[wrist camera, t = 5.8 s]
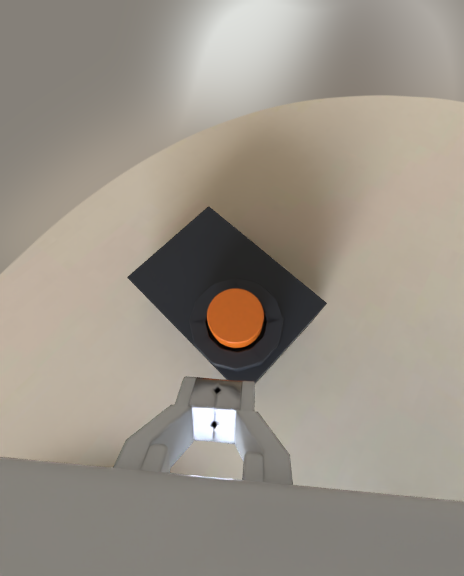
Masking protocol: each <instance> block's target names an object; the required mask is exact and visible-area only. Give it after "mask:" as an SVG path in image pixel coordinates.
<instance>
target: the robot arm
mask: <svg viewBox="0 0 464 576" xmlns="http://www.w3.org/2000/svg"><path fill="white" fill-rule="evenodd" d="M254 403H255V382H254V381H243V384H242V381H234V380H219V379H209V378H198V377H197V378H196V377H186V376H185V377H184V379H183V381H182V384H181V387H180V390H179V393H178V396H177V399H176V402H175V405H170V406H169V407H168V408H166V409H165V410H164V411H162V412H161V413H160V414H159V415H157V416H156V417H155V418H153V419H152V420H151V421H150V422H148V423H147V424H146V425H144V426H143V427H142V428H141V429H139V430H138V431H137V432H136V433H134V434H133V435H132V436H130V437H129V438H128V439H127V440H126V441H125V443H124V445H123V447H122V450H121V452H120V454H119V456H118V458H117V460H116V462H115V465H114V467H113V468H111V467H101V466H91V465H80V464H70V463H59V462H49V461H39V460H28V459H18V458H7V457H0V576H464V501H454V500H444V499H433V498H423V497H413V496H402V495H392V494H381V493H371V492H361V491H350V490H340V489H329V488H319V487H309V486H298V485H293V482H292V471H291V461H290V454H289V453H288V452H287V450H286V449H285V448H284V446H283V445H282V444H281V442H280V441H279V440H278V438H277V437H276V436H275V434H274V433H273V432H272V430H271V429H270V427H269V426H268V425H267V423H266V422H265V421H264V419H263V418H262V417H261V415H260V414H259V413H258V412H255V411H254ZM193 440H196V441H215V442H222V443H231V444H235V446H236V448H237V450H238V452H239V454H240V456H241V458H242V460H243V462H244V464H243V478H242V480H236V479H226V478H216V477H205V476H195V475H184V474H174V473H170V468H171V467H172V466H173V465H174V463H175V462H176V461H177V460H178V459H179V458H180V457H181V455H182V454H183V453H184V452H185V451H186V450H187V448H188V447H189V446H190V445H191V444H192V443H193Z"/></svg>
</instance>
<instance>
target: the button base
mask: <svg viewBox="0 0 464 576" xmlns="http://www.w3.org/2000/svg"><path fill="white" fill-rule="evenodd" d="M128 279H129V280H130V281H131V282H132V283H133V284H134V285H135V286H136V287H137V288H138V289H139V290H140V291H141V292H142V293H143V294H144V295H145V296H146V297H147V298H148V299H149V300H150V301H151V302H152V303H153V304H154V305H155V306H156V307H157V308H158V309H159V310H160V311H161V312H162V313H163V315H164V316H165V317H166V318H167V319H168V320H169V321H170V322H171V323H172V324H173V325H174V326H175V327H176V328H177V329H178V330H179V331H180V332H181V333H182V334H183V335H184V336H185V337H186V338H187V339H188V340H189V341H190V342H191V343H192V344H193V345H194V346H195V347H196V348H197V349H198V350H199V351H200V352H201V353H202V354H203V355H204V357H205V358H206V359H207V360H208V361H209V362H210V363H211V364H212V365H213V366H214V367H215V368H216V369H217V370H218V371H219V372H220V373H221V374H222V375H223V376H224V377H225V378H226V379H227V380H234V381H242V384H243V381H254V382H255V384H256V383H257V381H258V380H259V379H260V378H261V377H262V376H263V375H264V374H265V373H266V371H267V370H268V369H269V368H270V367H271V366H272V365H273V364H274V363H275V362H276V360H277V359H278V358H279V357H280V356H281V355H282V354H283V353H284V352H285V351H286V349H287V348H288V347H289V346H290V345H291V344H292V343H293V342H294V341H295V340H296V338H297V337H298V336H299V335H300V334H301V333H302V332H303V331H304V330H305V328H306V327H307V326H308V325H309V324H310V323H311V322H312V321H313V320H314V318H315V317H316V316H317V315H318V314H319V312H320V311H321V310H322V309H323V307H324V306H325V305H326V304H327V303H326V302H325V301H324V300H322V299H321V298H320V297H319V296H317V295H316V294H315V293H314V292H313V291H311V290H310V289H309V288H308V287H306V286H305V285H304V284H303V283H302V282H300V281H299V280H298V279H297V278H296V277H294V276H293V275H292V274H291V273H289V272H288V271H287V270H286V269H285V268H283V267H282V266H281V265H280V264H278V263H277V262H276V261H275V260H274V259H272V258H271V257H270V256H269V255H267V254H266V253H265V252H264V251H263V250H261V249H260V248H259V247H258V246H257V245H255V244H254V243H253V242H252V241H250V240H249V239H248V238H247V237H246V236H244V235H243V234H242V233H241V232H239V231H238V230H237V229H236V228H235V227H233V226H232V225H231V224H230V223H228V222H227V221H226V220H225V219H224V218H222V217H221V216H220V215H219V214H218V213H216V212H215V211H214V210H213V209H211V208H210V207H207V208H206V209H205V210H204V211H203V212H202V213H200V214H199V215H198V216H197V217H196V218H195V219H194V220H192V221H191V222H190V223H189V224H188V225H187V226H186V227H184V228H183V229H182V230H181V231H180V232H179V233H178V234H176V235H175V236H174V237H173V238H172V239H171V240H170V241H168V242H167V243H166V244H165V245H164V246H163V247H161V248H160V249H159V250H158V251H157V252H156V253H155V254H153V255H152V256H151V257H150V258H149V259H148V260H147V261H145V262H144V263H143V264H142V265H141V266H140V267H139V268H137V269H136V270H135V271H134V272H133V273H132V274H131V275H129V276H128ZM232 288H239V289H244V290H247V291H249V292H251V293H252V294H254V295H255V296H256V297H257V298H258V300H259V301H260V303H261V305H262V307H263V311H264V320H263V325H262V330H261V332H260V334H259V336H258V338H257V339H256V340H255V341H254V342H253V343H251V344H250V345H248V346H245V347H242V348H230V347H227V346H225V345H223V344H221V343H220V342H219V341H218V340H217V339H216V338H215V337H214V335H213V333H212V331H211V330H210V328H209V325H208V321H207V311H208V307H209V305H210V303H211V301H212V300H213V298H214V297H215V296H216V295H218V294H219V293H221V292H222V291H224V290H227V289H232Z"/></svg>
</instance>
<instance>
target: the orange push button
mask: <svg viewBox="0 0 464 576" xmlns="http://www.w3.org/2000/svg"><path fill="white" fill-rule="evenodd" d="M263 320H264V311H263V307H262V305H261V303H260V301H259V300H258V298H257V297H256V296H255V295H254V294H252V293H251V292H249V291H247V290H244V289H239V288H232V289H227V290H224V291H222V292H221V293H219V294H218V295H216V296H215V297H214V298H213V300H212V301H211V303H210V305H209V307H208V311H207V321H208V325H209V328H210V330H211V331H212V333H213V335H214V337H215V338H216V339H217V340H218V341H219V342H220V343H221V344H223V345H225V346H227V347H230V348H242V347H245V346H248V345H250V344H251V343H253V342H254V341H255V340H256V339H257V338H258V336H259V334H260V332H261V330H262V325H263Z"/></svg>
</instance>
